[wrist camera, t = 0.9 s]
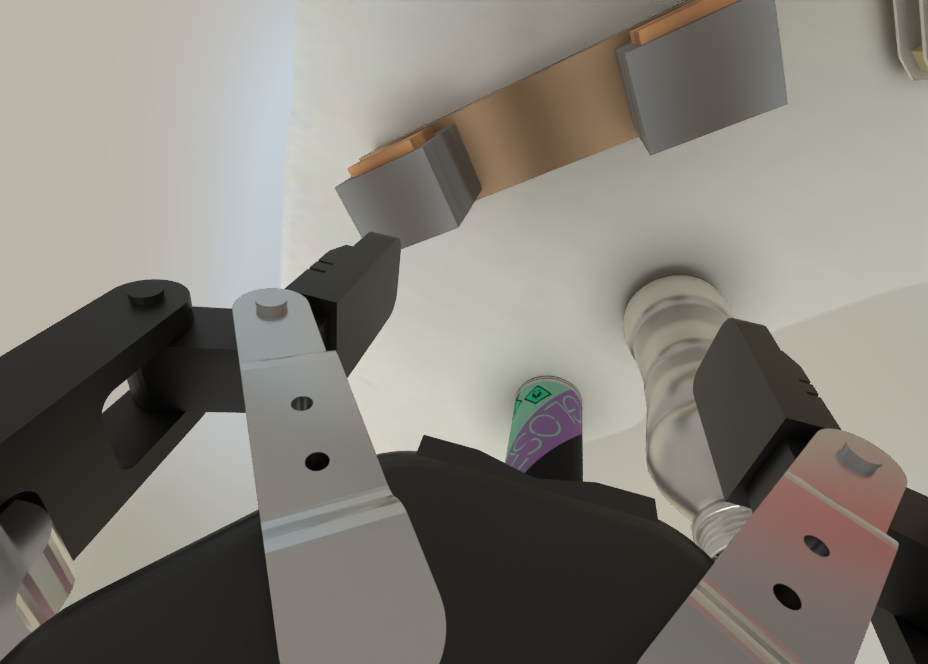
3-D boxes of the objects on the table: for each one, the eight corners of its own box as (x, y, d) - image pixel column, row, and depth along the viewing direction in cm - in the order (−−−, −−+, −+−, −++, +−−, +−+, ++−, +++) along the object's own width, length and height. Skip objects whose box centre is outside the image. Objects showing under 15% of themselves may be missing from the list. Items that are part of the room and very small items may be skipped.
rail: (738, -25, 24) (822, -55, 16) (753, 78, 26) (835, 100, 18) (376, 149, 32) (305, 189, 24) (409, 217, 34) (355, 276, 26)
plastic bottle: (609, 280, 34) (640, 520, 17) (714, 251, 31) (869, 499, 15) (631, 353, 36) (676, 623, 20) (729, 332, 34) (875, 620, 17)
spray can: (578, 373, 38) (578, 635, 22) (585, 425, 41) (589, 694, 24) (511, 377, 40) (462, 624, 23) (521, 427, 42) (484, 681, 26)
